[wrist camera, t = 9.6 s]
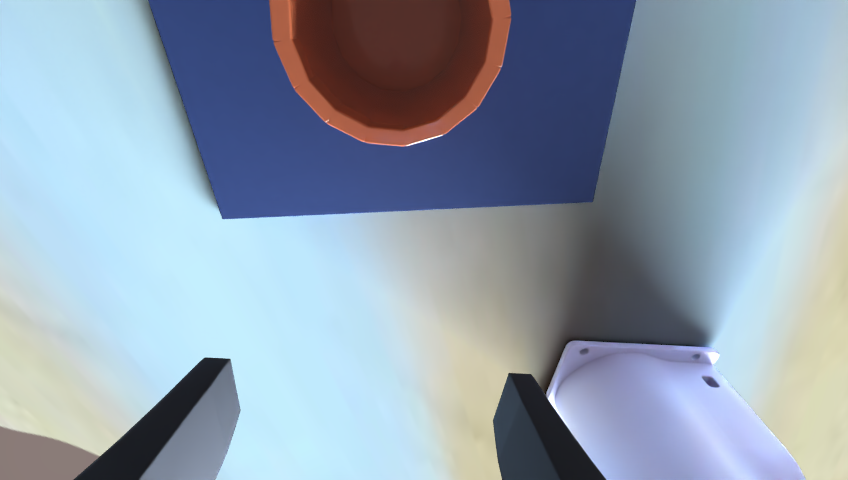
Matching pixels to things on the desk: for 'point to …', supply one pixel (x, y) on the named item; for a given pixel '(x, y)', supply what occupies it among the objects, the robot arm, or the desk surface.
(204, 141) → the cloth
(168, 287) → the desk surface
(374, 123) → the cup
